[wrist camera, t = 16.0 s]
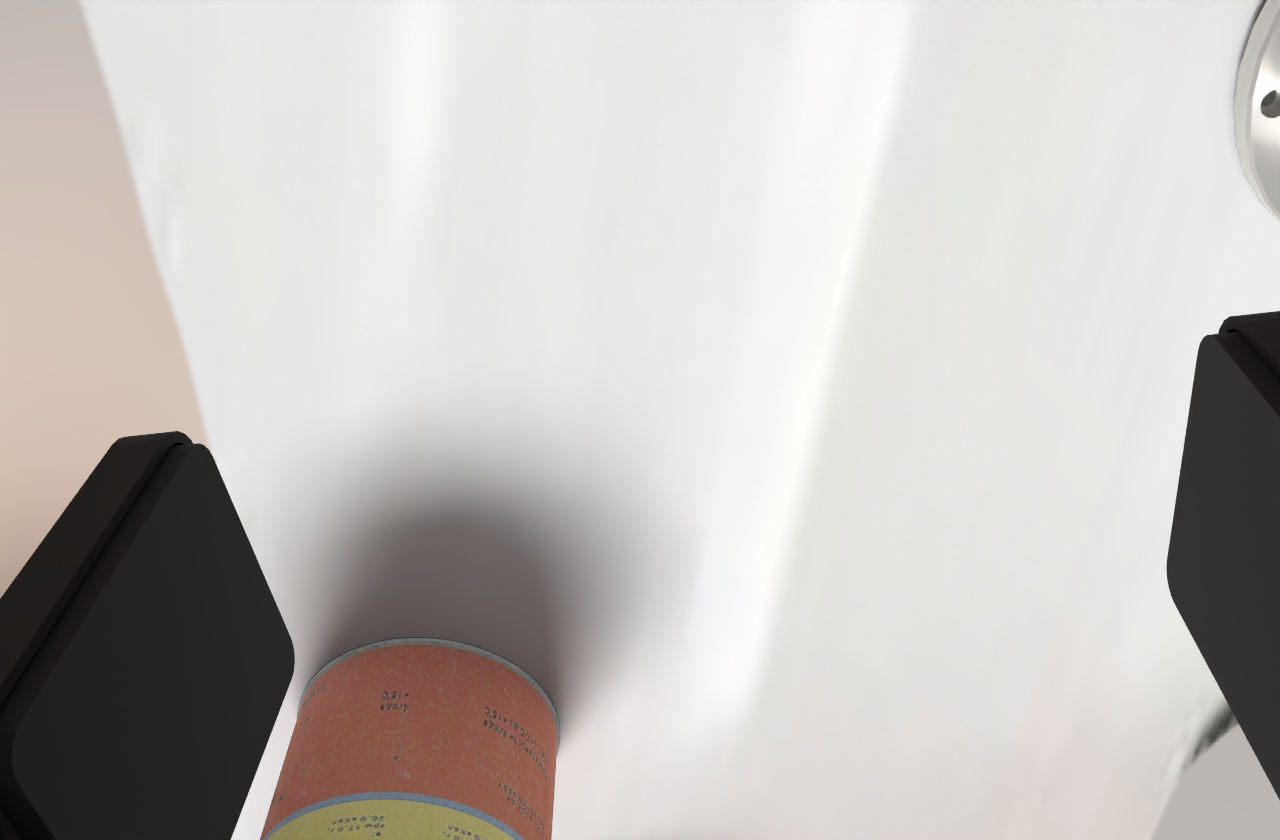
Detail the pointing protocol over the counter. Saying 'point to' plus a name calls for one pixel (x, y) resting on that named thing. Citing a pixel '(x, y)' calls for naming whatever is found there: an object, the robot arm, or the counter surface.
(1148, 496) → the counter surface
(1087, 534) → the counter surface
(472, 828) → the canned food
